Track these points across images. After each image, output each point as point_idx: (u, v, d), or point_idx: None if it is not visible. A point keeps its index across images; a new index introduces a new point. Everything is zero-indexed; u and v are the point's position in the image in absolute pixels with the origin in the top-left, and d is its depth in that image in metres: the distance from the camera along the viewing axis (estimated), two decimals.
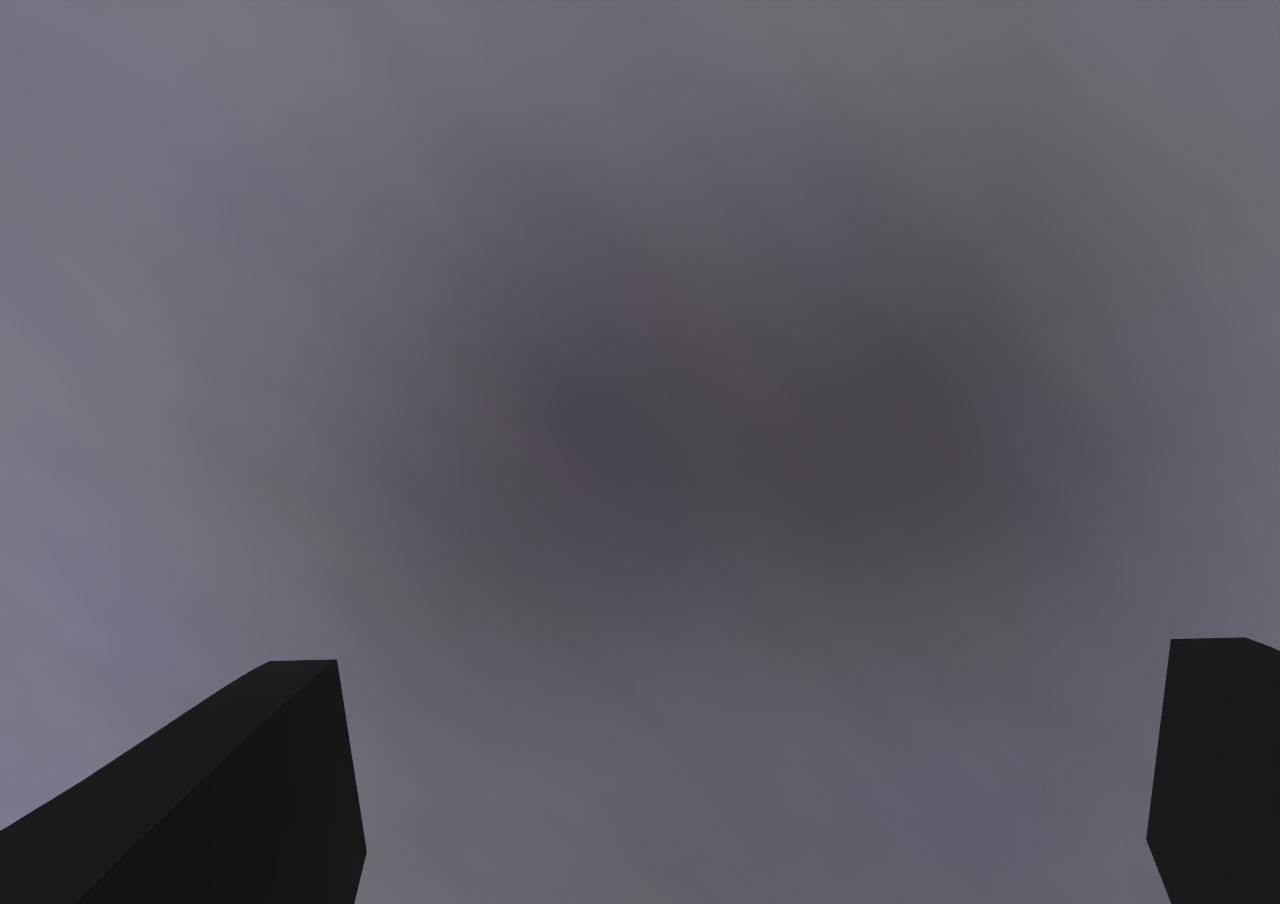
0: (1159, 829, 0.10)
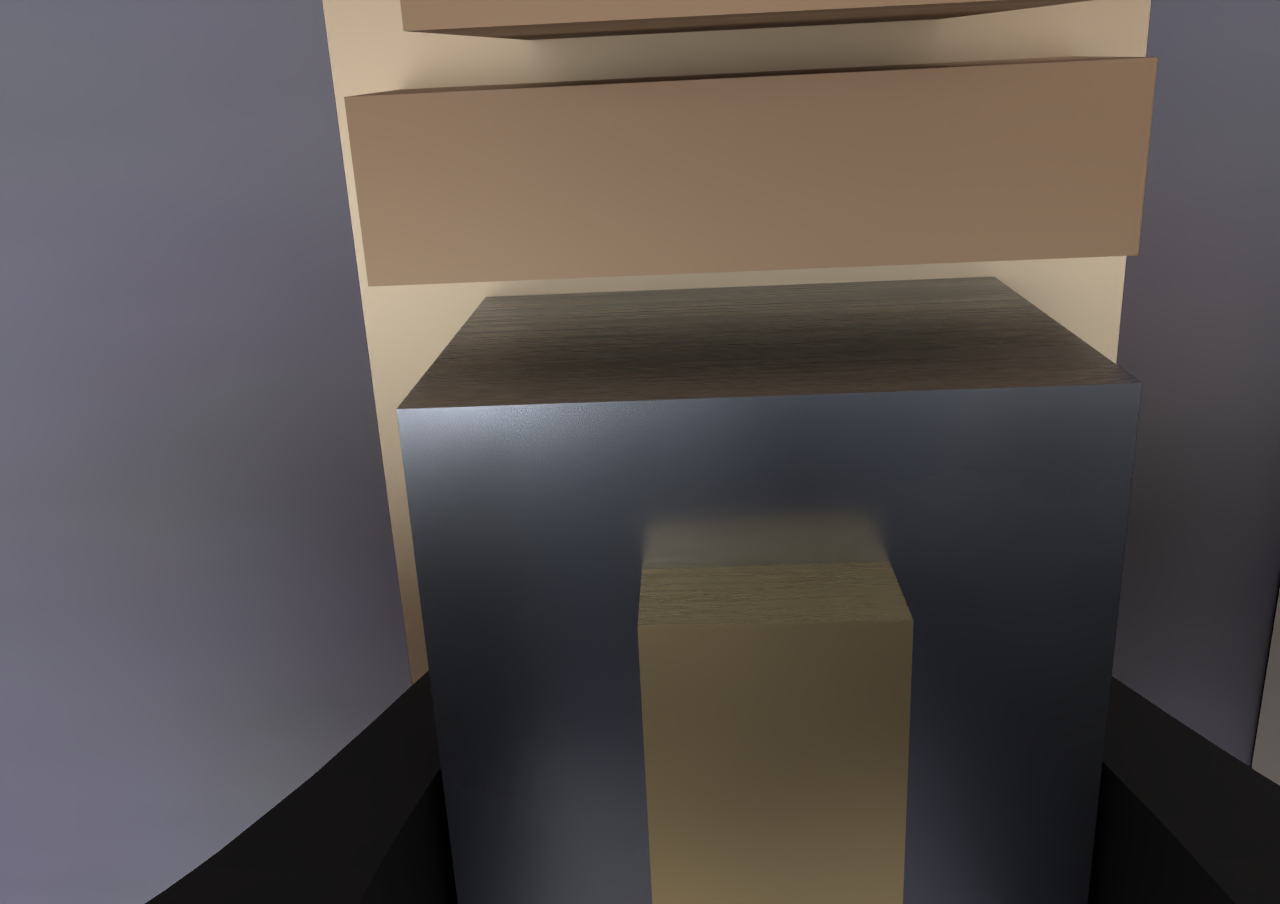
0: None
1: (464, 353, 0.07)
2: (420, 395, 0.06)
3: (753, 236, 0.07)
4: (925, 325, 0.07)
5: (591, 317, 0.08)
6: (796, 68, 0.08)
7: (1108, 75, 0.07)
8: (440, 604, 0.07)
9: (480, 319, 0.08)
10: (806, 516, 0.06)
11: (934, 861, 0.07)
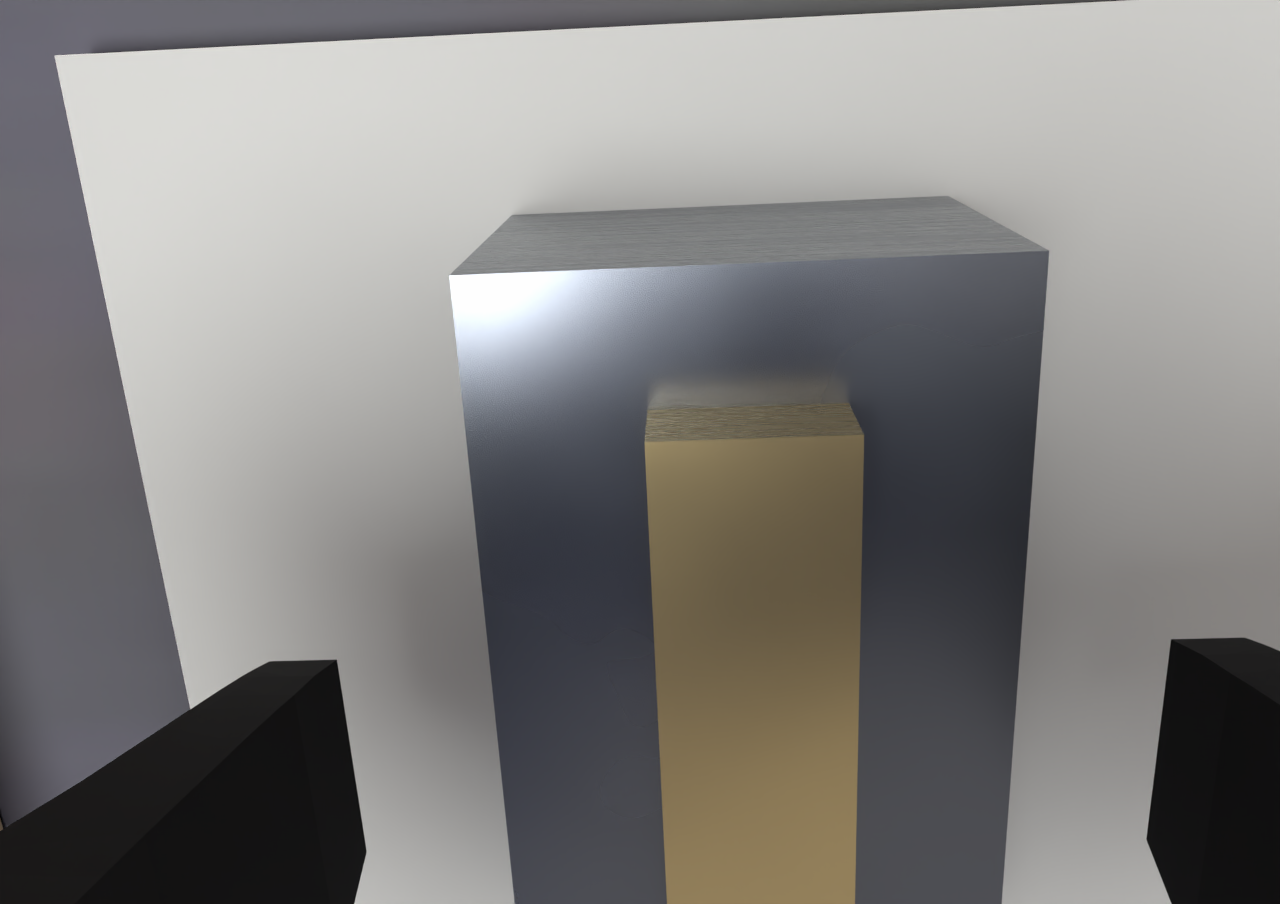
0: (1159, 829, 0.10)
1: (499, 246, 0.09)
2: (467, 268, 0.08)
3: None
4: (883, 224, 0.09)
5: (603, 224, 0.10)
6: None
7: None
8: (482, 442, 0.08)
9: (510, 227, 0.10)
10: (780, 364, 0.08)
11: (888, 663, 0.09)
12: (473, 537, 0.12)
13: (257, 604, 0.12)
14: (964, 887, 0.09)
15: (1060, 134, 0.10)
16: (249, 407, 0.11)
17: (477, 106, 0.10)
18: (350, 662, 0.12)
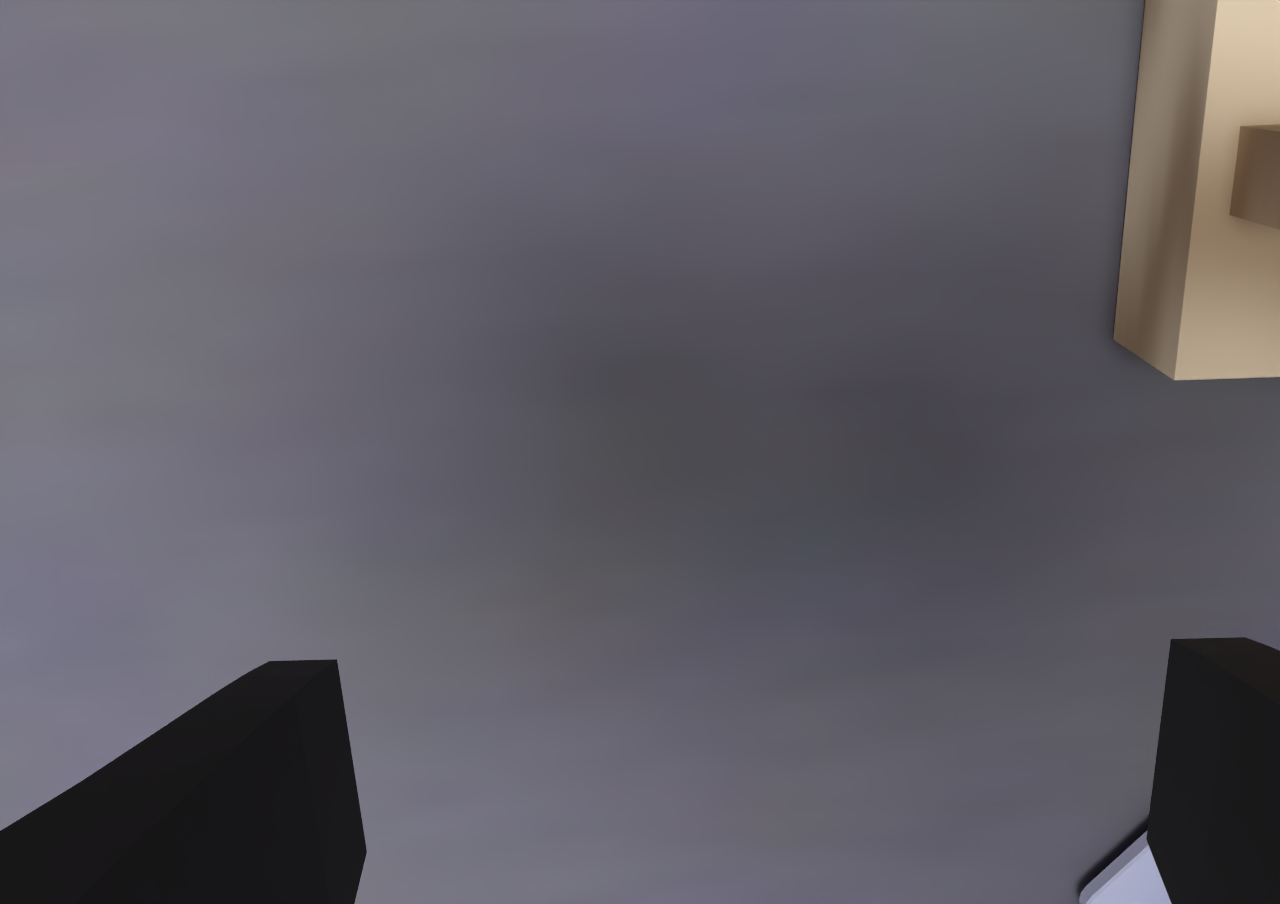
0: (1159, 829, 0.10)
1: None
2: None
3: None
4: None
5: None
6: None
7: None
8: None
9: None
10: None
11: None
12: None
13: None
14: None
15: None
16: None
17: None
18: None
